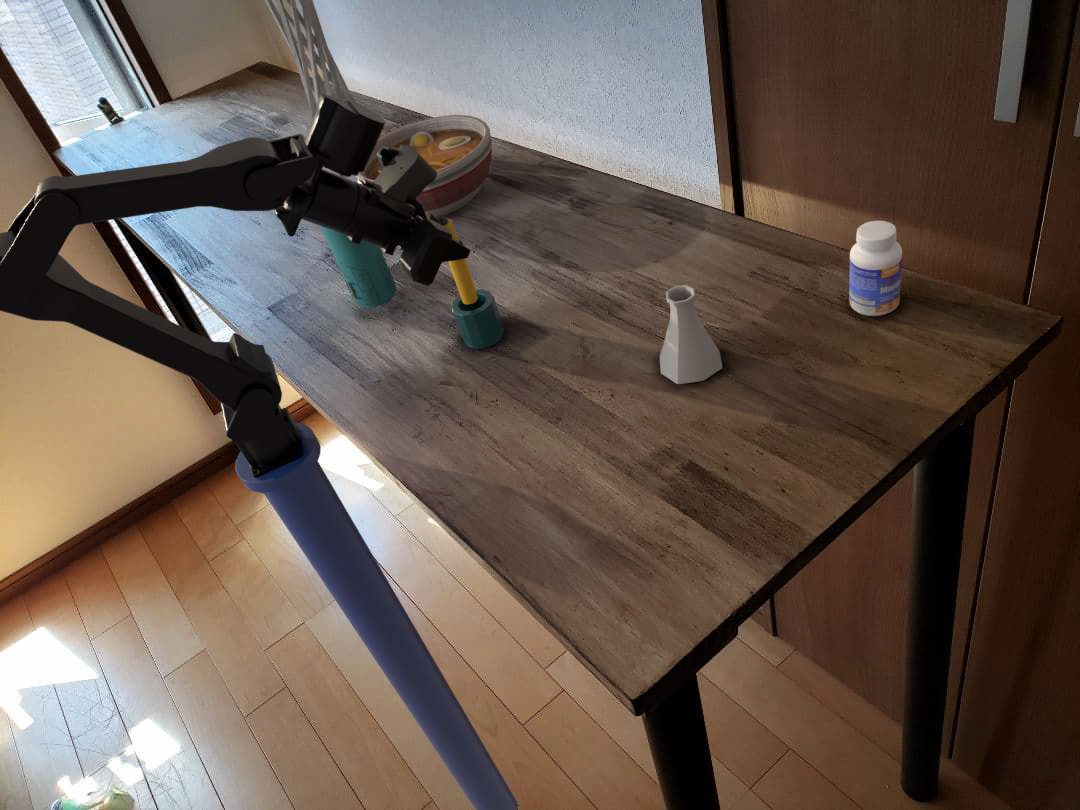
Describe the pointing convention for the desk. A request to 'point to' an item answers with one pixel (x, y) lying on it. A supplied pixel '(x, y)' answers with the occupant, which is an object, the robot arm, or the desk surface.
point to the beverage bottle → (362, 269)
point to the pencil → (460, 269)
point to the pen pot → (478, 320)
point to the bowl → (443, 159)
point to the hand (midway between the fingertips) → (465, 250)
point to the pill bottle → (875, 269)
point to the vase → (297, 48)
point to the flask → (687, 341)
